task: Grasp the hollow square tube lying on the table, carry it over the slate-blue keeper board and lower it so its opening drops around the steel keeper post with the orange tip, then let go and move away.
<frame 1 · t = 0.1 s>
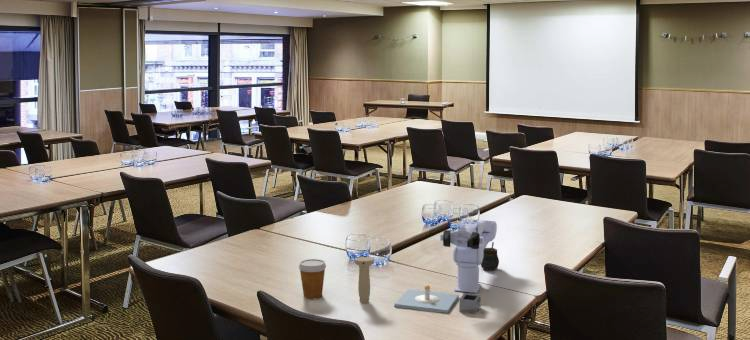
hand: (456, 243, 228), 22 cm above the table, tool horizontal, fingers open, 7 cm apart
handle: (364, 302, 236), on the table
disposable coffee cup: (312, 296, 242), on the table
mate gourd: (489, 269, 273), on the table
keeper board: (427, 302, 236), on the table
hollow square tube: (469, 309, 229), on the table
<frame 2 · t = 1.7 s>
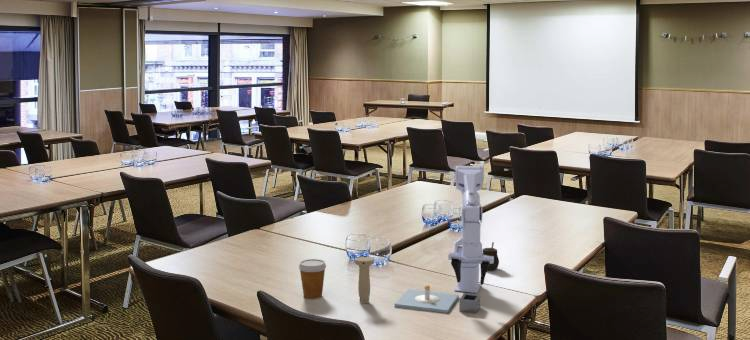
hand: (470, 282, 228), 9 cm above the table, tool pointing down, fingers open, 7 cm apart
nothing on the table moved.
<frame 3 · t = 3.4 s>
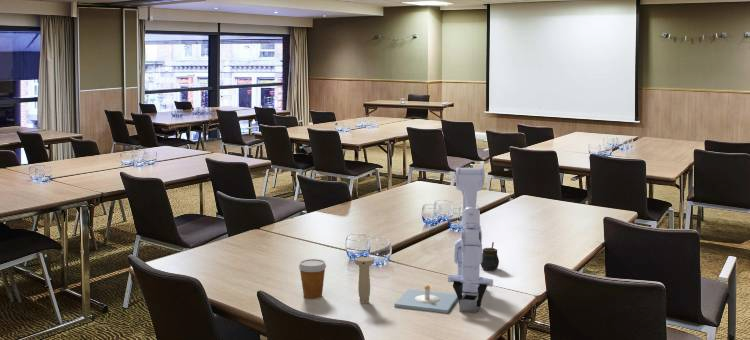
hand: (469, 305, 229), 1 cm above the table, tool pointing down, fingers closed on hollow square tube, 6 cm apart
hollow square tube: (469, 309, 229), on the table, touching gripper
everything else where it was.
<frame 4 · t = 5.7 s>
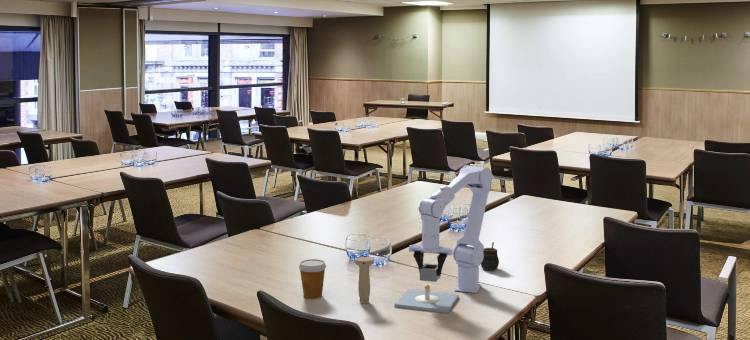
hand: (430, 274, 234), 10 cm above the table, tool pointing down, fingers closed on hollow square tube, 6 cm apart
hollow square tube: (430, 278, 234), point 8 cm above the table, touching gripper
everything else where it was.
when the fingers open (4 cm above the table, at t = 8.2 s): hollow square tube drops 1 cm, resting on keeper board.
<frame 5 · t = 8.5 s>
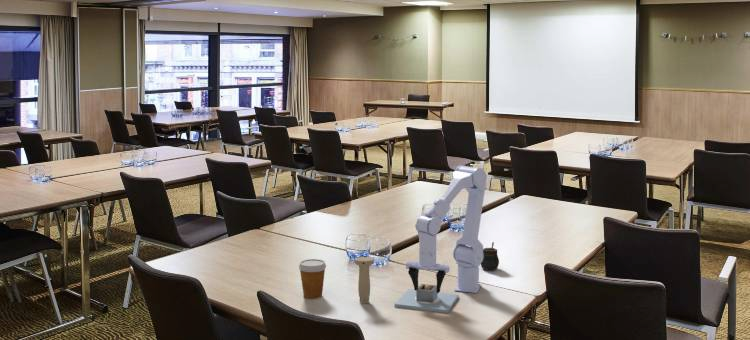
hand: (427, 290, 235), 4 cm above the table, tool pointing down, fingers open, 7 cm apart
hollow square tube: (427, 299, 235), point 1 cm above the table, touching keeper board
everything else where it was.
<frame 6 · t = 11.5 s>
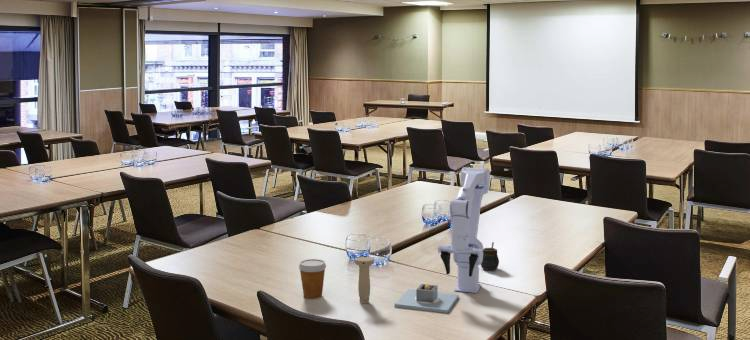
hand: (459, 274, 235), 9 cm above the table, tool pointing down, fingers open, 7 cm apart
nothing on the table moved.
at the end: hollow square tube 0.1 cm off-centre on the keeper board, point 1.1 cm above the keeper board's base; the gripper is holding nothing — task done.
